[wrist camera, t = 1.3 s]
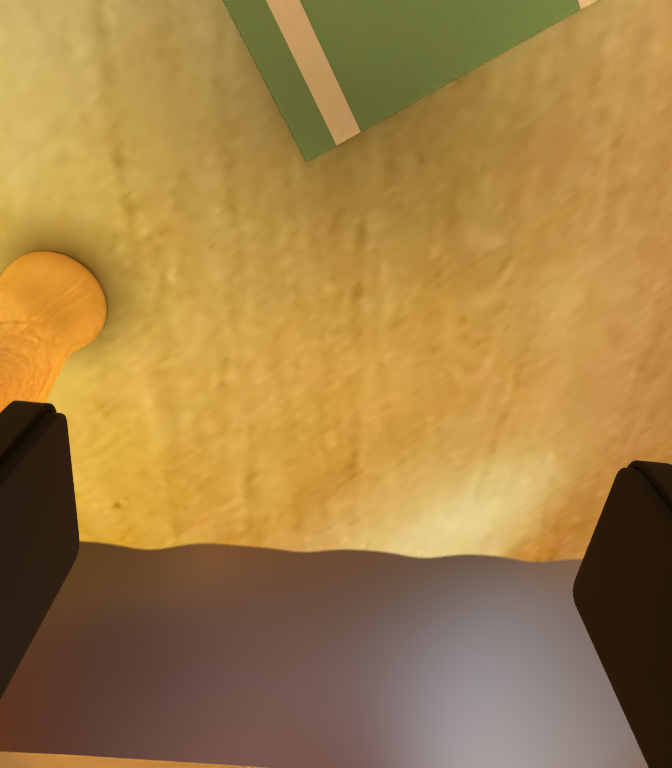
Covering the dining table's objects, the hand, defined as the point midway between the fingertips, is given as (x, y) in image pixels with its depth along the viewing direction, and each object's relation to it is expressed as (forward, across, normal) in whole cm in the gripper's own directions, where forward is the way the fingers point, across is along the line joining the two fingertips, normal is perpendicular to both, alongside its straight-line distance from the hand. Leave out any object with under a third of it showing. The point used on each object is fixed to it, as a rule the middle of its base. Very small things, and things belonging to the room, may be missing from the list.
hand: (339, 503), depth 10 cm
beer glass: (+26, +16, +7) cm, 31 cm away
